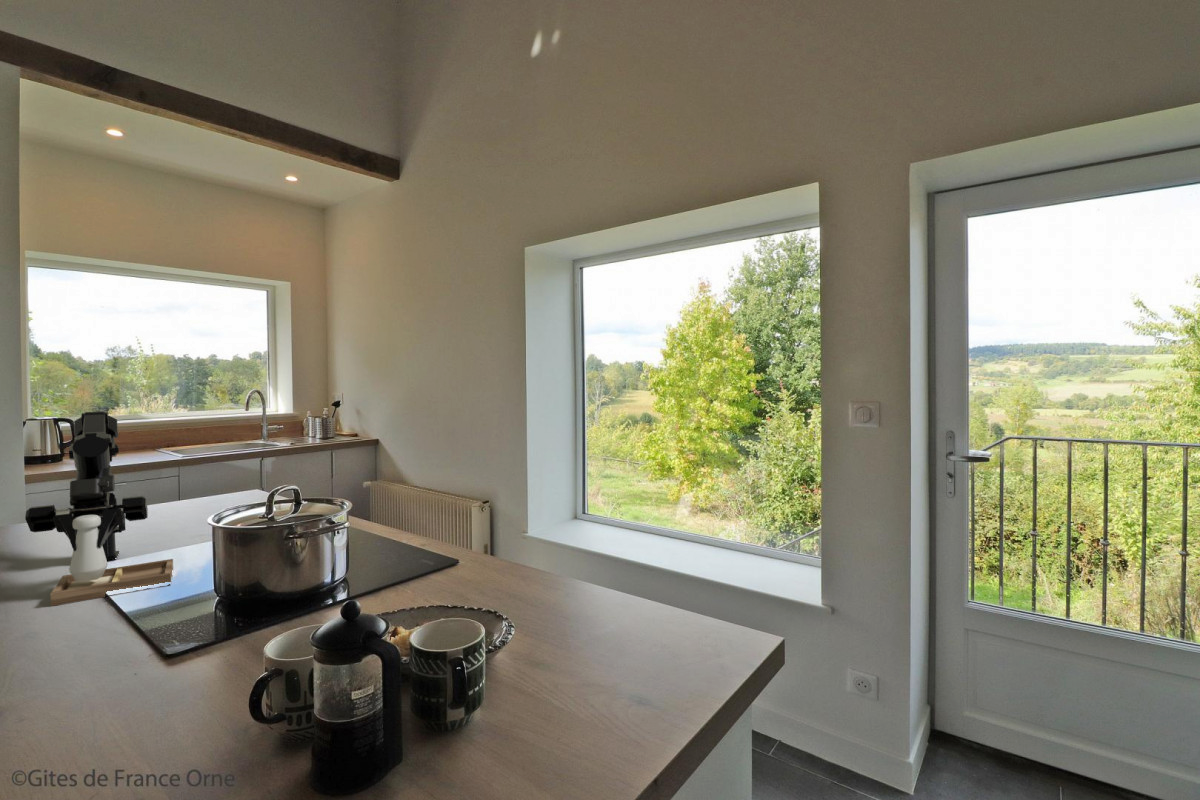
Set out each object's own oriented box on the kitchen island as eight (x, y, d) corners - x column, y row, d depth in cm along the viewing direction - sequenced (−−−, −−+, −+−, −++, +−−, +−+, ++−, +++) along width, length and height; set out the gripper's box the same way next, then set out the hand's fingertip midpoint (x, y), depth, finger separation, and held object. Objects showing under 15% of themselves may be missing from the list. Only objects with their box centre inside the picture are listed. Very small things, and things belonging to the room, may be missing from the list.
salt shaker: (110, 577, 117) (108, 515, 117) (73, 585, 113) (71, 521, 112) (103, 571, 121) (100, 511, 120) (66, 579, 116) (64, 516, 115)
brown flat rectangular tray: (63, 586, 119) (63, 575, 119) (173, 569, 129) (172, 558, 129) (51, 606, 109) (50, 594, 109) (170, 585, 120) (170, 574, 119)
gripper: (24, 467, 113) (12, 535, 105) (144, 459, 124) (142, 520, 116) (36, 499, 120) (26, 565, 112) (148, 488, 131) (146, 548, 123)
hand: (87, 548), depth 115 cm, fingers closed on salt shaker, 3 cm apart
